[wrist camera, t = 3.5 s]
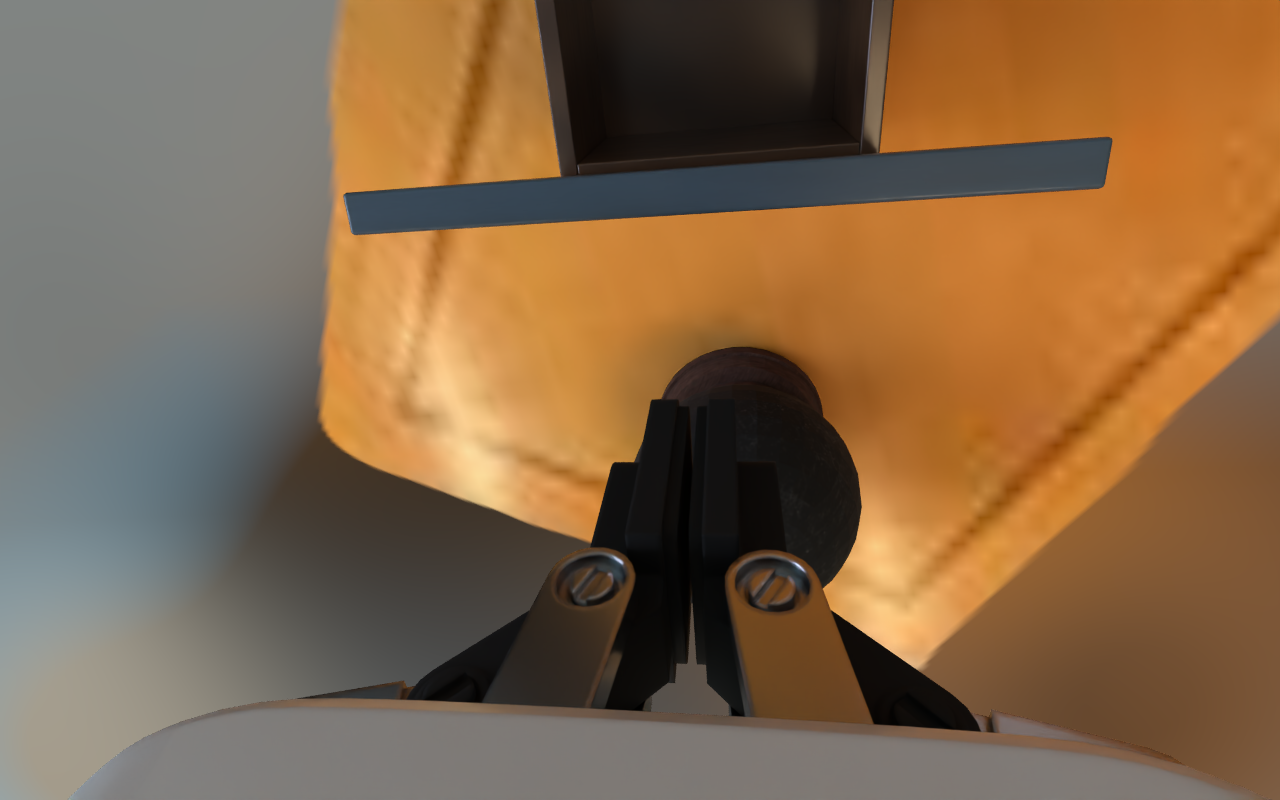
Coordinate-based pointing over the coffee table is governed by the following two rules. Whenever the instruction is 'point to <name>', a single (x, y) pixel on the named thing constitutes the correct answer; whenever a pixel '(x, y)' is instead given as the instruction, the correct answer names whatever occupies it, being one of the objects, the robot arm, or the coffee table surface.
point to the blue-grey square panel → (739, 187)
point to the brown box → (712, 80)
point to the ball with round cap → (783, 446)
